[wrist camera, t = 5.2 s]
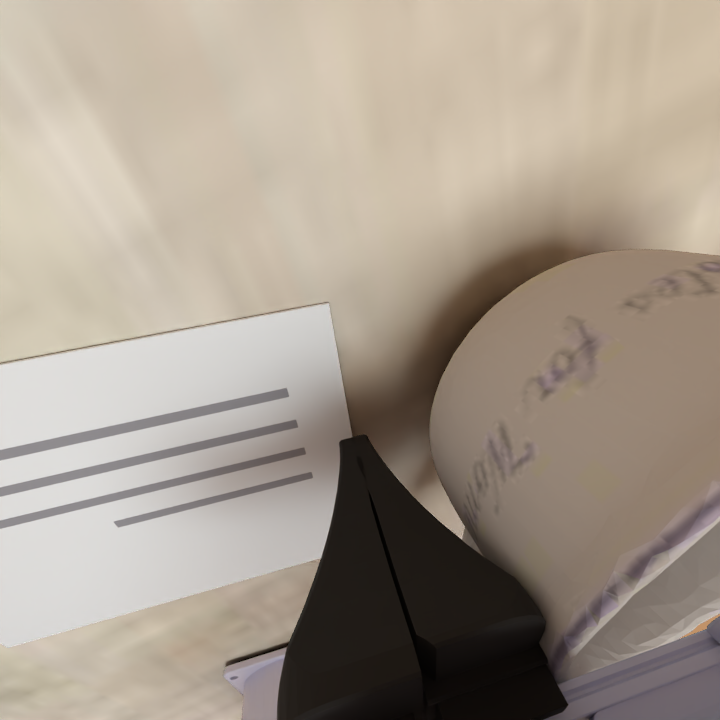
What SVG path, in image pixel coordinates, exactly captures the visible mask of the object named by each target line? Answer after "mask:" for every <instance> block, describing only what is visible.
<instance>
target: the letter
mask: <svg viewBox="0 0 720 720" xmlns="http://www.w3.org/2000/svg"><path fill="white" fill-rule="evenodd" d="M351 437H352V431H351V426H350V420H349V414H348V409H347V403H346V398H345V392H344V386H343V381H342V375H341V369H340V364H339V358H338V352H337V347H336V341H335V335H334V330H333V324H332V318H331V313H330V307H329V303H328V302H327V303H322V304H317V305H311V306H306V307H300V308H295V309H290V310H284V311H279V312H274V313H268V314H263V315H258V316H252V317H247V318H242V319H236V320H231V321H226V322H220V323H215V324H209V325H204V326H199V327H193V328H188V329H183V330H177V331H172V332H167V333H161V334H156V335H151V336H145V337H140V338H135V339H129V340H124V341H118V342H113V343H108V344H102V345H97V346H92V347H86V348H81V349H76V350H70V351H65V352H60V353H54V354H49V355H44V356H38V357H33V358H27V359H22V360H17V361H11V362H6V363H1V364H0V644H2V645H3V646H5V647H7V648H10V647H13V646H17V645H20V644H24V643H27V642H31V641H34V640H38V639H41V638H45V637H48V636H52V635H55V634H59V633H62V632H66V631H69V630H73V629H76V628H80V627H83V626H87V625H90V624H93V623H97V622H100V621H104V620H107V619H111V618H114V617H118V616H121V615H125V614H128V613H132V612H135V611H139V610H142V609H146V608H149V607H153V606H156V605H160V604H163V603H167V602H170V601H174V600H177V599H181V598H184V597H188V596H191V595H195V594H198V593H202V592H205V591H209V590H212V589H216V588H219V587H223V586H226V585H230V584H233V583H237V582H240V581H244V580H247V579H251V578H254V577H258V576H261V575H265V574H268V573H272V572H275V571H279V570H282V569H286V568H289V567H293V566H296V565H300V564H303V563H307V562H310V561H314V560H317V559H321V557H322V553H323V550H324V547H325V543H326V540H327V536H328V532H329V528H330V524H331V520H332V515H333V510H334V505H335V499H336V494H337V487H338V478H339V467H340V447H339V442H340V441H341V440H343V439H347V438H351Z"/></svg>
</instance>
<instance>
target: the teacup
mask: <svg viewBox="0 0 720 720" xmlns="http://www.w3.org/2000/svg"><path fill="white" fill-rule="evenodd" d="M429 439H430V448H431V453H432V457H433V462H434V465H435V468H436V471H437V473H438V476H439V478H440V481H441V483H442V485H443V487H444V489H445V491H446V493H447V495H448V497H449V499H450V501H451V503H452V505H453V507H454V508H455V510H456V512H457V514H458V515H459V517H460V519H461V521H462V522H463V524H464V526H465V529H464V534H463V538H462V540H463V541H464V542H465V543H466V544H467V545H469V546H470V547H472V548H473V549H474V550H476V551H477V552H478V553H480V554H481V555H482V556H484V557H485V558H487V559H488V560H489V561H491V562H492V563H494V564H495V565H497V566H498V567H500V568H501V569H503V570H504V571H506V572H507V573H509V574H510V575H512V576H513V577H515V578H516V579H517V581H518V582H519V583H520V584H521V585H522V587H523V588H524V589H525V590H526V592H527V593H528V594H529V596H530V597H531V598H532V600H533V601H534V602H535V604H536V605H537V607H538V608H539V610H540V611H541V613H542V615H543V617H544V619H545V621H546V627H545V631H544V633H543V636H542V638H541V640H540V642H539V644H540V646H541V648H542V649H543V651H544V653H545V655H546V657H547V659H548V664H547V666H548V668H549V670H550V672H551V674H552V675H553V677H554V679H555V681H556V683H557V684H560V683H562V682H565V681H568V680H570V679H573V678H576V677H578V676H581V675H584V674H587V673H589V672H592V671H595V670H597V669H600V668H603V667H605V666H608V665H611V664H614V663H616V662H619V661H622V660H624V659H627V658H630V657H633V656H635V655H638V654H641V653H643V652H646V651H649V650H651V649H654V648H657V647H660V646H662V645H665V644H668V643H670V642H673V641H676V640H678V639H680V638H681V637H682V636H684V635H685V634H687V633H689V632H691V631H692V630H694V629H695V628H696V626H698V625H699V624H701V623H703V622H705V621H707V620H708V619H710V618H712V617H714V616H716V615H718V614H719V613H720V256H718V255H708V254H699V253H689V252H679V251H670V250H646V249H628V250H617V251H607V252H602V253H596V254H591V255H587V256H583V257H580V258H577V259H573V260H570V261H567V262H565V263H562V264H560V265H558V266H555V267H553V268H551V269H549V270H546V271H544V272H542V273H540V274H539V275H537V276H535V277H533V278H531V279H530V280H528V281H526V282H525V283H523V284H522V285H520V286H519V287H517V288H516V289H515V290H513V291H512V292H511V293H510V294H508V295H507V296H506V297H504V298H503V299H502V300H501V301H499V302H498V303H497V304H495V305H494V306H493V307H492V308H491V309H490V310H489V311H488V312H487V313H486V314H485V315H484V316H483V317H482V318H481V319H480V320H479V322H478V323H477V324H476V325H475V326H474V327H473V328H472V329H471V330H470V332H469V333H468V335H467V336H466V337H465V339H464V340H463V342H462V343H461V344H460V346H459V347H458V348H457V350H456V351H455V353H454V354H453V356H452V358H451V360H450V362H449V364H448V366H447V367H446V369H445V371H444V373H443V375H442V378H441V380H440V383H439V385H438V388H437V391H436V394H435V397H434V401H433V405H432V409H431V416H430V426H429Z"/></svg>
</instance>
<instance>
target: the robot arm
mask: <svg viewBox="0 0 720 720" xmlns="http://www.w3.org/2000/svg"><path fill="white" fill-rule="evenodd" d="M339 447H340V467H339V478H338V487H337V494H336V499H335V505H334V510H333V515H332V520H331V524H330V528H329V532H328V536H327V540H326V543H325V547H324V550H323V553H322V557H321V560H320V563H319V566H318V570H317V573H316V575H315V578H314V581H313V584H312V586H311V589H310V592H309V595H308V597H307V600H306V603H305V605H304V608H303V611H302V613H301V615H300V618H299V620H298V622H297V625H296V627H295V630H294V632H293V634H292V637H291V639H290V641H289V644H288V646H287V647H285V648H282V649H279V650H276V651H273V652H270V653H266V654H263V655H260V656H257V657H254V658H251V659H248V660H244V661H241V662H238V663H235V664H232V665H229V666H227V667H226V668H225V669H224V674H223V677H224V678H225V679H226V680H227V681H228V682H229V683H230V684H231V685H232V686H233V687H234V688H235V689H236V690H238V691H239V692H240V693H241V694H242V695H243V707H242V720H720V616H719V617H718V618H716V619H715V620H713V621H712V622H711V623H710V624H709V625H708V626H707V629H705V630H703V631H700V632H697V633H695V634H692V635H689V636H687V637H684V638H681V639H678V640H676V641H673V642H670V643H668V644H665V645H662V646H660V647H657V648H654V649H651V650H649V651H646V652H643V653H641V654H638V655H635V656H633V657H630V658H627V659H624V660H622V661H619V662H616V663H614V664H611V665H608V666H605V667H603V668H600V669H597V670H595V671H592V672H589V673H587V674H584V675H581V676H578V677H576V678H573V679H570V680H568V681H565V682H562V683H560V684H557V683H556V681H555V679H554V677H553V675H552V674H551V672H550V670H549V668H548V666H547V664H548V659H547V657H546V655H545V653H544V651H543V649H542V648H541V646H540V644H539V642H540V640H541V638H542V636H543V633H544V631H545V627H546V621H545V619H544V617H543V615H542V613H541V611H540V610H539V608H538V607H537V605H536V604H535V602H534V601H533V600H532V598H531V597H530V596H529V594H528V593H527V592H526V590H525V589H524V588H523V587H522V585H521V584H520V583H519V582H518V581H517V579H516V578H515V577H513V576H512V575H510V574H509V573H507V572H506V571H504V570H503V569H501V568H500V567H498V566H497V565H495V564H494V563H492V562H491V561H489V560H488V559H487V558H485V557H484V556H482V555H481V554H480V553H478V552H477V551H476V550H474V549H473V548H472V547H470V546H469V545H467V544H466V543H465V542H464V541H463V540H461V539H460V538H459V537H458V536H456V535H455V534H454V533H453V532H451V531H450V530H449V529H448V528H446V527H445V526H444V525H443V524H442V523H441V522H439V521H438V520H437V519H436V518H435V517H434V516H433V515H432V514H431V513H429V512H428V511H427V510H426V509H425V508H424V507H423V506H422V505H421V504H420V503H419V502H418V501H417V500H416V499H415V498H414V497H413V496H412V495H411V494H410V493H409V492H408V490H407V489H406V488H405V487H404V486H403V485H402V484H401V483H400V482H399V480H398V479H397V478H396V477H395V476H394V474H393V473H392V472H391V471H390V469H389V468H388V467H387V466H386V464H385V463H384V462H383V460H382V459H381V458H380V456H379V455H378V453H377V452H376V450H375V449H374V447H373V446H372V444H371V442H370V440H369V439H368V437H367V436H366V435H360V436H356V437H351V438H347V439H343V440H341V441H340V442H339Z"/></svg>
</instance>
